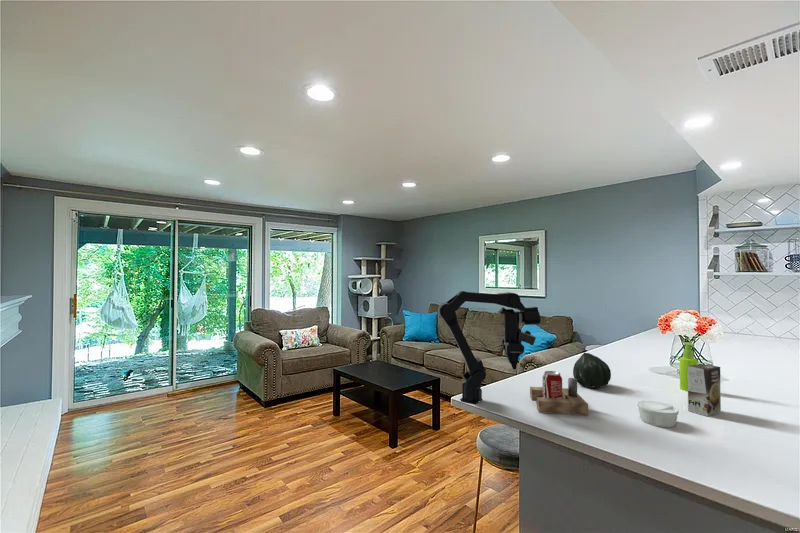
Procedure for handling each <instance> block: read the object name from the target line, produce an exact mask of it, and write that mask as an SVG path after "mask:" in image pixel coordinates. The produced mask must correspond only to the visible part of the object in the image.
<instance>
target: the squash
mask: <svg viewBox="0 0 800 533" xmlns="http://www.w3.org/2000/svg"><path fill="white" fill-rule="evenodd" d="M611 371H612V370H611V368H610V366H609V365H608V364H607V363H606V361H604V360H602V359H601V358H600V357H598V356H596V355H593V354H592V353H589V352H583V353H582V354H581V355H580V357H579V358H578V359H577V360H576V361H575V363H574V364H573V369H572V375H573V378H575V379H577V384H579V385H581V386H583V387H586V388H589V389H592V388H595V389H600V388H601V387H605V386H607V385H608V384H609V382H611V379H612V372H611Z"/></svg>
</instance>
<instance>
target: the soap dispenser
mask: <svg viewBox="0 0 800 533" xmlns="http://www.w3.org/2000/svg"><path fill="white" fill-rule="evenodd" d="M684 344H685V348H684V349H683V350H682V354H683V356H682V357H679V389H680V390H681V389H682V390H681V391H684V390H685V392H688V366H691V365H696V364H698V359H696V358H695V357H694V350H693V349H692V348H691V347H695V345H694V344H695V343H692V342H690V341H689V342H688V341H684Z"/></svg>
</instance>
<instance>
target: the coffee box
mask: <svg viewBox="0 0 800 533" xmlns="http://www.w3.org/2000/svg"><path fill="white" fill-rule="evenodd" d="M721 401H722V400H721V367H720V366H716V365H712V364H705V363H703V364H702V363H697V364H696V365H691V366H688V391H687V411H688V412H692V413H695V414H699V415H701V416H704V417H711V416H714V415H717V414H720V413H721V412H722V407H721V406H722V404H721V403H722V402H721Z"/></svg>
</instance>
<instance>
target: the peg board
mask: <svg viewBox="0 0 800 533" xmlns="http://www.w3.org/2000/svg"><path fill="white" fill-rule="evenodd" d="M567 380H568V381H567V384H568V385H567V387H568V388H566V387H565V388H563V387H562V399H558V398H543V386H530V387H529V397H530V399H531V400H532V401H536V409H537V410H536V411H537V412H538V413H541V414H558V415H571V416H572V415H573V416H575V415H576V416H587V417H588V416H589V404H588V402H587V401H586V400H584V397H583V398H582V396H580V394H578V382H577V379H575V378H574V377H568V378H567Z"/></svg>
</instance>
